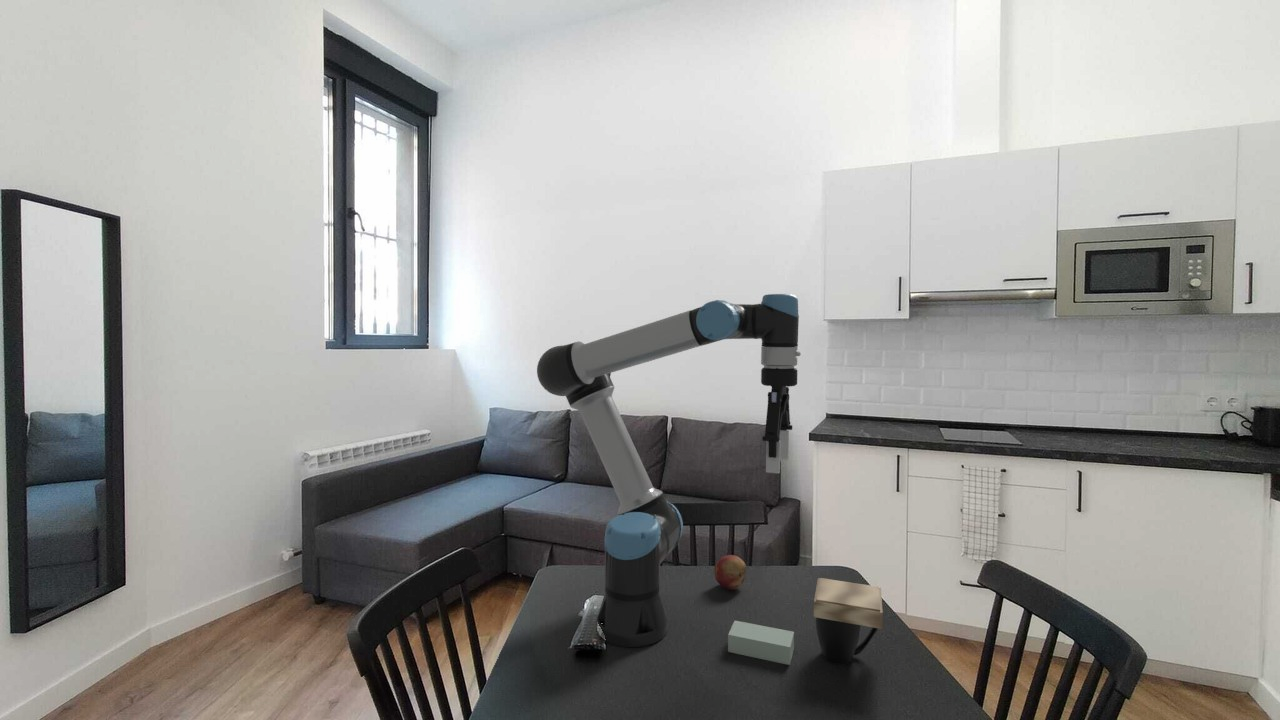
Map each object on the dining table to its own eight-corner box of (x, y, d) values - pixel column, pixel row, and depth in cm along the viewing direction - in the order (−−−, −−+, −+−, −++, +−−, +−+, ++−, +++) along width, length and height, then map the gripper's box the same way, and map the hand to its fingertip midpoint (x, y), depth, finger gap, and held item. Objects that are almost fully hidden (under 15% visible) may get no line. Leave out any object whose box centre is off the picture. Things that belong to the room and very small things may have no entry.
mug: (885, 671, 107) (887, 621, 107) (820, 667, 108) (821, 618, 108) (872, 647, 115) (873, 601, 115) (811, 644, 116) (812, 598, 116)
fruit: (724, 597, 136) (724, 564, 136) (708, 584, 144) (708, 553, 143) (751, 592, 139) (752, 559, 139) (734, 579, 147) (735, 548, 146)
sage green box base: (727, 651, 113) (728, 634, 113) (734, 636, 119) (734, 620, 119) (789, 665, 109) (790, 647, 109) (793, 648, 114) (794, 631, 114)
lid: (813, 616, 108) (813, 599, 108) (817, 592, 118) (818, 576, 118) (882, 629, 104) (882, 611, 104) (880, 602, 114) (880, 586, 114)
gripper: (789, 371, 109) (788, 481, 110) (803, 364, 132) (801, 455, 133) (750, 370, 112) (749, 477, 113) (770, 363, 135) (769, 452, 136)
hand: (777, 465), depth 123 cm, fingers open, 13 cm apart
